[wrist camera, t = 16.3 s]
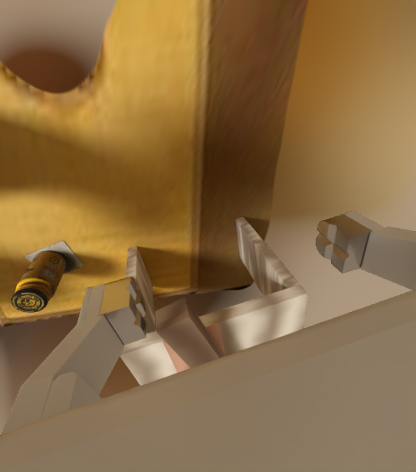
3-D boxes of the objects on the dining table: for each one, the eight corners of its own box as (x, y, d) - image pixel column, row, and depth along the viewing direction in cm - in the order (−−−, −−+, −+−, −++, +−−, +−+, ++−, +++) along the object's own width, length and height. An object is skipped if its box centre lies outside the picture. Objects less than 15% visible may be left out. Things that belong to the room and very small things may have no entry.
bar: (219, 386, 42) (224, 404, 39) (155, 311, 28) (156, 332, 26) (239, 376, 42) (246, 394, 39) (184, 297, 28) (189, 316, 26)
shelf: (144, 285, 59) (147, 396, 37) (127, 248, 53) (119, 357, 31) (246, 255, 62) (303, 341, 41) (243, 216, 56) (308, 294, 34)
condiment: (24, 255, 48) (-7, 298, 38) (63, 240, 48) (43, 278, 38) (48, 279, 52) (26, 323, 42) (84, 264, 52) (70, 304, 42)
